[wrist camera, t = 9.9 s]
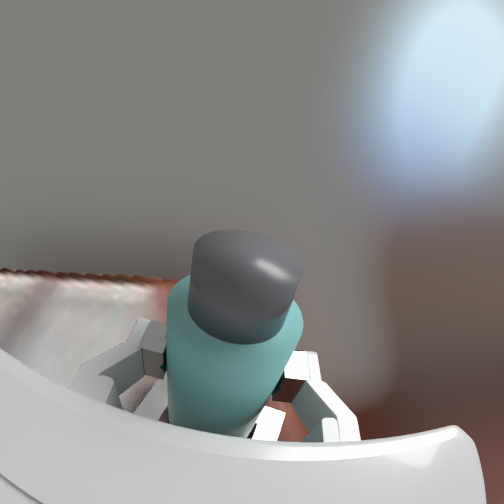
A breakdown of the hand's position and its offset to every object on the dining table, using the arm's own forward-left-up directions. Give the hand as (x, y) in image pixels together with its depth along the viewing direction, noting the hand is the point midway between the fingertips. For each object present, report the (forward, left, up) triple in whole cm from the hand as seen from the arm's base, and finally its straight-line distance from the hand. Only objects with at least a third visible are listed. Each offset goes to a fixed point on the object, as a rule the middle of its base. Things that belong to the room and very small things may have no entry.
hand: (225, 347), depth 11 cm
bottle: (0, -1, -6) cm, 6 cm away
